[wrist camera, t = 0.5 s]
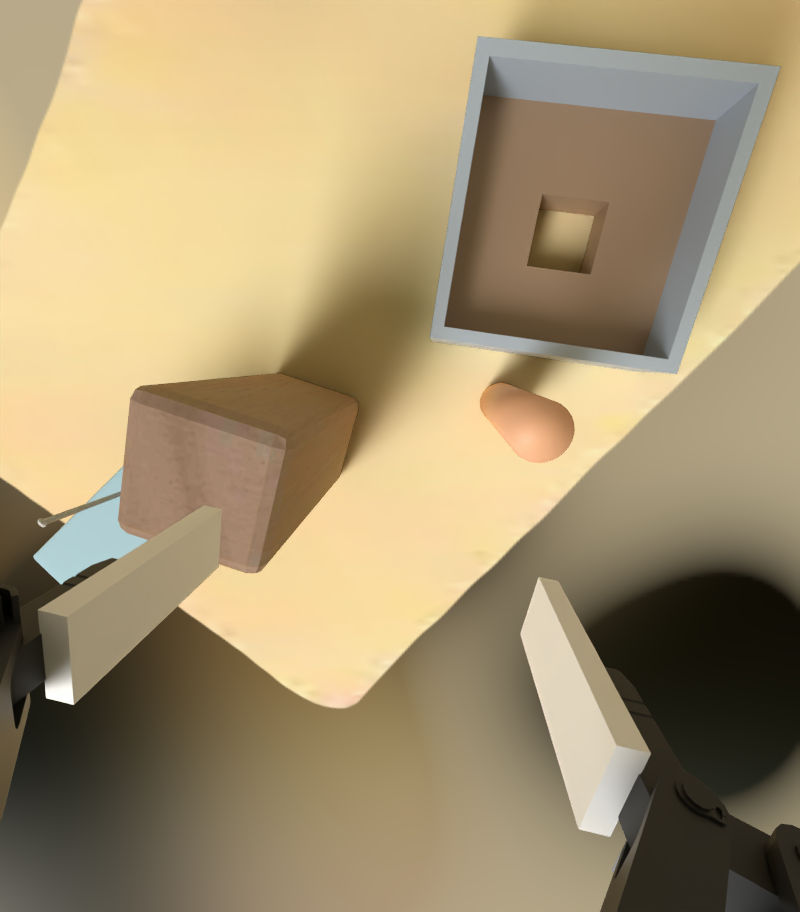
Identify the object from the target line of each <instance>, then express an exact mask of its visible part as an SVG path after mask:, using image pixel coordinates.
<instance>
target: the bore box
mask: <svg viewBox="0 0 800 912" xmlns="http://www.w3.org/2000/svg"><path fill="white" fill-rule="evenodd" d="M780 68H781V66H771V65H761V64H751V63H741V62H731V61H721V60H711V59H701V58H691V57H681V56H671V55H661V54H651V53H641V52H631V51H621V50H611V49H601V48H591V47H581V46H571V45H561V44H551V43H541V42H531V41H521V40H511V39H501V38H491V37H481V36H478V39H477V45H476V52H475V58H474V64H473V70H472V77H471V83H470V89H469V95H468V102H467V108H466V114H465V121H464V127H463V133H462V139H461V146H460V152H459V158H458V164H457V171H456V177H455V183H454V190H453V196H452V202H451V208H450V215H449V221H448V227H447V233H446V240H445V246H444V252H443V259H442V265H441V271H440V277H439V284H438V290H437V296H436V302H435V309H434V315H433V321H432V328H431V334H430V339H431V341H433V342H440V343H446V344H453V345H460V346H467V347H473V348H480V349H487V350H494V351H500V352H507V353H514V354H520V355H527V356H534V357H541V358H547V359H554V360H561V361H568V362H574V363H581V364H588V365H595V366H601V367H608V368H615V369H621V370H628V371H638V372H653V373H669V374H677V372H678V369H679V366H680V363H681V361H682V358H683V355H684V352H685V349H686V346H687V343H688V340H689V337H690V334H691V331H692V328H693V325H694V322H695V319H696V316H697V313H698V310H699V307H700V304H701V301H702V298H703V295H704V292H705V290H706V287H707V284H708V281H709V278H710V275H711V272H712V269H713V266H714V263H715V260H716V257H717V254H718V251H719V248H720V245H721V242H722V239H723V236H724V233H725V230H726V227H727V224H728V221H729V218H730V216H731V213H732V210H733V207H734V204H735V201H736V198H737V195H738V192H739V189H740V186H741V183H742V180H743V177H744V174H745V171H746V168H747V165H748V162H749V159H750V156H751V153H752V150H753V147H754V144H755V142H756V139H757V136H758V133H759V130H760V127H761V124H762V121H763V118H764V115H765V112H766V109H767V106H768V103H769V100H770V97H771V94H772V91H773V88H774V85H775V82H776V79H777V76H778V73H779V70H780ZM539 209H544V210H552V211H560V212H568V213H576V214H584V215H592V216H594V220H593V224H592V228H591V232H590V236H589V240H588V244H587V248H586V252H585V256H584V260H583V264H582V268H581V272H580V273H576V272H568V271H561V270H553V269H546V268H539V267H531V266H527V263H528V258H529V253H530V249H531V244H532V239H533V235H534V230H535V226H536V221H537V216H538V212H539Z"/></svg>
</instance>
